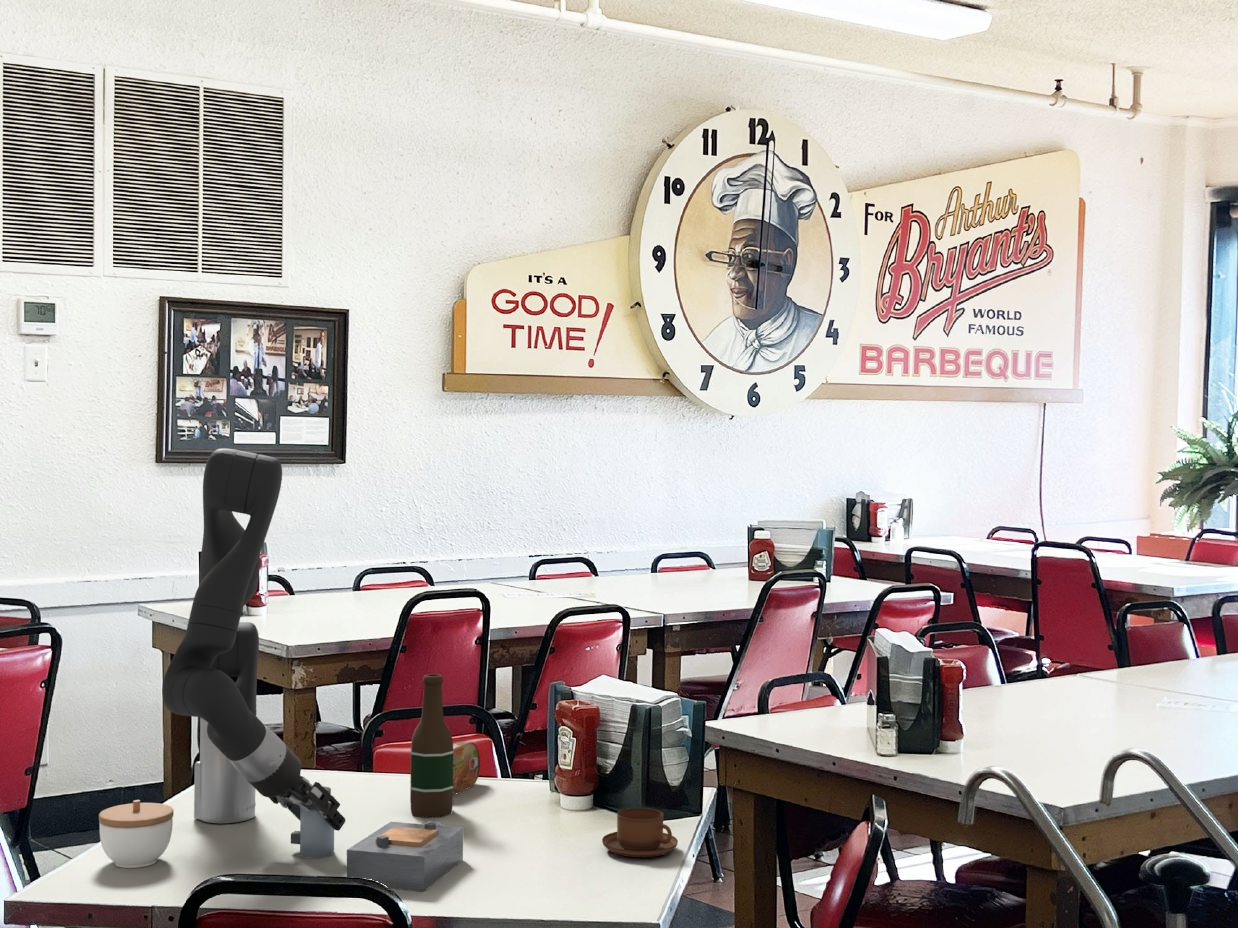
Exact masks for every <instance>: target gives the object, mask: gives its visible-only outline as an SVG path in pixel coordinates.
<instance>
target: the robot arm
mask: <svg viewBox="0 0 1238 928" xmlns="http://www.w3.org/2000/svg"><path fill="white" fill-rule="evenodd" d="M282 481H283V465H282V463H281V461H280V460H279V459H278V458H276V457H273V456H270V455H269V456H268V455H264V454H260V453H259V454H258V453H254V452H251V451H250V452H248V451H243V450H240V449H235V448H217V449H215V450H214V451H212V453H211V454H210V455H209V457H208V459H207V461H206V463H205V468H204V472H203V481H202V508H203V509H202V510H203V511H202V512H203V535H202V536H203V537H202V543H201V553H200V560H199V561H200V562H199V573H198V587H197V589H196V592H195V594H194V598H193V602H192V604H191V605H192V606H191V610H190V613H189V618H188V622H187V626H186V631H185V634H184V636H183V637H182V640H181V642H180V643H179V645H178V646H177V648H176V651H175V653H174V656H173V657H172V660H171V661H170V663H169V665H168V667H167V670H166V672H165V674H164V677H163V682H162V688H161V689H162V690H161V691H162V693H161V695H162V701H163V703H164V705H165V707H166V708H167V710H168V711H169V712H171V713H172V714H175V715H178V716H182V717H183V716H184V717H186V716H187V717H193V718H194V717H196V718H200V719H199V720H200V723H199V725H200V726H199V727H200V728H199V730H200V732H199V740H200V741H199V761H198V760H197V761H196V762H195V763H194V784H193V785H194V786H193V787H194V797H193V799H194V803H193V819H195V820H200V821H202V822H204V823H209V824H210V823H211V824H234V823H240V822H244V821H248V820H250V819H253V818H254V817H255V815H256V791H257V792H258V793H259V794H260V795H261V796H263V797H265V798H269V799H270V800H271V802H272V803H273V804H276V805H279V804H280V806H282V808H283V809H288V811H289V812H291V814H293V816H295V818H296V819H298V821H300V808H301V807H302V808H303V809H305V810H306V811H308V812H315V813H317V814H318V815H320V816H321V817H322V818H323V819H324V820H325V821H326V822H327V823H328V824H329V825H330V826H331V827H332V828H333V829H334V831H337V832H339V831H340V830H341V829H342V828H343V826H344V824H345V823H346V818H345V817H344V816H343V815H342V813H341V812H339V810H338V809H339V808H340V806H341V803H340V802H339V801H338V800H337V799H336V797H335V796H334V795H332V793H331V794H330V793H329V792H328V791H327V790H326V789H325V788H324V787H325V786H324V787H323V785H322V784H321V783H320V782H317V781H315V782H314V783H313V784H311V782H310V780H309V779H308V778H307V777H305V776H303V775H301V771H302V764H301V760H300V758H299V757H298V756H297V755H296V754H295V753H294V751H292V750H291V749H290V747H288V745H286V743H285V742H284V741H283V740H282V739H281V738H280V737H279V736H278V735H277V734H276V733H275V732H274V731H272V730H271V729H270V728H269V727H267V726H266V725H265V724H264V722H262V720H261V719H260V718H258V716H257V687H258V685H257V683H258V682H257V681H258V680H257V679H258V668H259V665H258V664H259V654H260V640H259V638H260V637H259V631H258V628H257V626H256V625H255V623H253V622H249V621H247V622H246V621H241V620H240V619H241V617H242V616H241V615H242V612H243V607H245V606H246V605H247V604H248V603H249V602H250V600H251V599H252V598H253V596H254V595H255V593H256V591H257V588H258V586H259V585H258V584H259V576H260V569H261V556H260V555H261V553H262V550H263V546H264V543H265V540H266V537H267V534H268V532H269V529H270V525H271V522H272V520H273V516H274V514H275V513H274V512H275V510H276V506H277V503H278V500H279V497H280V492H281V487H282ZM234 513H239V514H243V515H248V516H249V520H248V523H247V525H246V528H245V529H244V527H243V526H242V525H241V523H240V522H239V521H238V520H237V518H236V516H235V515H234ZM240 621H241V622H240ZM233 677H235V678H236V677H237V680H236V681H234V680H233ZM333 796H334V797H335V798H334V797H333ZM308 800H309V801H310V802H312V804H311V805H307V804H306V803H307V802H308ZM318 808H319V809H318Z"/></svg>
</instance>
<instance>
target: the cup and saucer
mask: <svg viewBox="0 0 1238 928" xmlns="http://www.w3.org/2000/svg"><path fill="white" fill-rule="evenodd" d="M616 813H617V814H616V821H617V822H616V829H617V831H614V832H610V833H607V834H605V835H604V836H603V837H602V838H601V841H602V845H603V846H604V847H605V848H606V850H608V851H609V852H612V853H613V854H616V855H620V856H623V857H629V858H655V857H659V856H662V855H666V854H668V853H670V852H672V851H674V849H675V848H676V847H677V846H678V843H679V842H678V841H679V840H678V839H677V837H676V836H674V835H673V834H672V830H671V828H670V827H669V826H668V825H667V824H665V823H664V813H663V811H661V810H659V809H655V808H650V807H627V808H623V809H621V810H618V811H617V812H616ZM664 829H665V831H666V832H667V833H666V832H664Z"/></svg>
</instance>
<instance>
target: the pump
mask: <svg viewBox="0 0 1238 928" xmlns="http://www.w3.org/2000/svg"><path fill="white" fill-rule="evenodd" d="M322 786H323V785H322ZM323 787H324V788H325V789H326V790H327V791H328V792H329V793H330V794H331V795H332V788H331V787H330V786H329V787H328V786H323ZM332 796H333V797H334V798H335V799H336V797H335V796H334V795H332ZM306 804H307V805H311V804H312V802H310V801H309V800H308V802H307V803H306ZM318 809H319V808H318ZM299 822H300V823H299V824H300V827H299V828H300V829H299V830H295V831H292V832H291V833H290V844H291V845H299V856H301V857H303V858H306V859H307V858H308V859H323V858H327V857H328V858H329V857H330V856H332V855H334V854H335V830H334V829H333V828H332V827H331V826H330V825H329V824H328V823H327V822H326V821H325V820H324V819H323V818H322V817H321V816H320V815H318V814H317V813H315V812H308V811H306V810H305V809H303V808H302V807H301V808H300V820H299Z"/></svg>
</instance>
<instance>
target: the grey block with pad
mask: <svg viewBox="0 0 1238 928" xmlns="http://www.w3.org/2000/svg"><path fill="white" fill-rule="evenodd" d="M463 860H464V827H463V826H462V827H461V826H460V827H459V826H449V825H448V826H447V825H443V823H440V822H439V821H436V820H429V821H428V822H426V823H412V822H411V823H410V822H402V821H401V822H399V821H389V822H388V823H386V824H385V825H383V826H381V827H380V828H379V829H377V830H376V831H374V832H372V833H371V834H369V835H368V836H366V837H365V838H363V839H361V840H360V841H358V842H356V843H355V844H353V845H352V846H351V847H348V849H346V878H347V877H353V878H366V879H372V880H374V881H378V882H379V883H382V884H384V885H386V886H387V887H388V888H387V889H393V890H394V889H395V890H404V891H405V890H406V891H415V892H426V890H428V889H429V888H430V887H431V886H433V885H434V884H435V883H436V882H437V881H439V880H440V879H442V877H443V876H446V874H448V873H449V872H450V871H451V870H452V869H453V868H456V866H458V864H460V863H461V862H462V861H463Z"/></svg>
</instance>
